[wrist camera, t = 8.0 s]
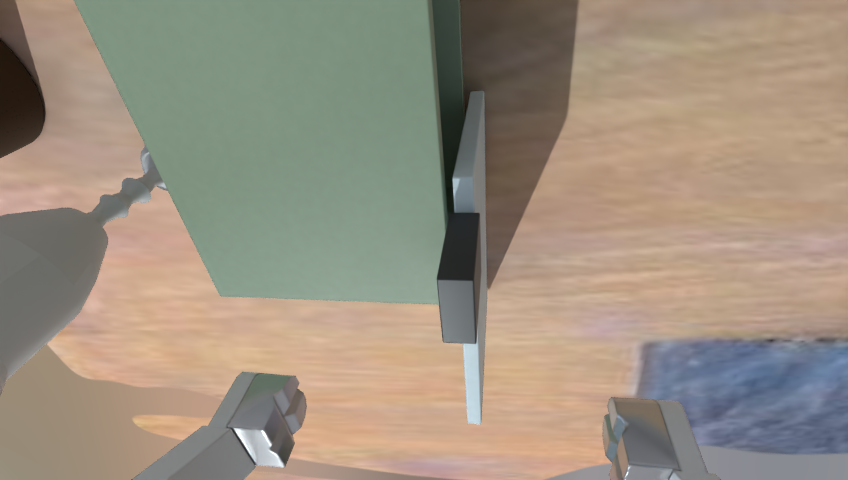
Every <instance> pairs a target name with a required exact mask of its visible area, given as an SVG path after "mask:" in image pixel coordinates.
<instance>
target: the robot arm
mask: <svg viewBox="0 0 848 480" xmlns="http://www.w3.org/2000/svg"><path fill="white" fill-rule="evenodd" d="M298 385H299V382H298V380H297V378H296V376H290V375H277V374H264V373H254V372H242V373H241V374H240V375H238V376H237V377H236V379H235V381H234V382H233V384H232V386H231V388H230V389H229V391H228V393H227V394H226V396H225V398H224V399H223V401H222V403H221V405H220V406H219V408H218V410H217V411H216V413H215V415H214V416H213V418H212V420H211V421H210V423H209V425H208V426H202V427H201V428H199V429H198V430H197V431H195V432H194V433H193V434H191V435H190V436H189V437H187V438H186V439H185V440H183V441H182V442H181V443H179V444H178V445H177V446H176V447H174V448H173V449H171V450H170V451H169V452H167V453H166V454H165V455H164V456H162V457H161V458H160V459H158V460H157V461H156V462H154V463H153V464H152V465H150V466H149V467H148V468H146V469H145V470H144V471H142V472H141V473H140V474H138V475H137V476H136V477H134V478H133V479H132V480H244V479H245V478H246V477H247V476H248V475H249V474H250V473H251V472H252V471H253V470H254V468H255V465H259V466H272V467H285V466H286V464H287V461H288V459H289V456H290V454H291V451H292V449H293V446H294V444H295V442H294V438H293V434H294V433H295V432H296V431H298V430H299V429H300V428H301V426H302V424H303V421H304V418H305V413H306V407H307V405H306V398H305V395H304V393H303V392H301V391H300V390H299V389H297V387H298ZM607 407H608V412H609V414H607V415H605V416H604V421H603V444H604V450H605V455H606V456H607V458H608V459H609V460H610V461H611V462H612V466H611V470H610V473H609V476H610V480H721V479H720V478H719V477H718V476H717V475H715V474H709V473H708V471H707V469H706V466H705V464H704V461H703V458H702V456H701V453H700V450H699V447H698V445H697V442H696V439H695V437H694V434H693V432H692V429H691V426H690V424H689V421H688V418H687V416H686V413H685V410H684V408H683V406H682V405H681V404H680V403H679V402H677V401H660V400H654V399H635V398H616V397H611V398H610V399H609V401H608V405H607Z"/></svg>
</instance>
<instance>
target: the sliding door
mask: <svg viewBox="0 0 848 480" xmlns="http://www.w3.org/2000/svg"><path fill="white" fill-rule="evenodd" d="M452 180H453V196H454V212H455V213H449V217H448V222H447V227H446V233H445V238H444V243H443V248H442V253H441V258H440V264H439V269H438V274H437V289H438V299H439V309H440V319H441V328H442V338H443V342H444V343H463V356H464V372H465V388H466V404H467V420H468V423H470V424H481V422H482V400H483V378H484V357H485V335H486V313H487V248H486V173H485V98H484V91H471V92H470V96H469V101H468V106H467V111H466V115H465V120H464V125H463V130H462V135H461V140H460V144H459V149H458V154H457V159H456V164H455V168H454V173H453V178H452Z"/></svg>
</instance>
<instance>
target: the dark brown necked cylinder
mask: <svg viewBox="0 0 848 480" xmlns="http://www.w3.org/2000/svg"><path fill="white" fill-rule="evenodd" d="M43 124H44V111H43V105H42V101H41V98H40V95H39V93H38V90H37V88H36V86H35V84H34V82H33V80H32V79H31V77H30V75H29V74H28V72H27V71H26V69H25V68H24V66H23V65H22V64H21V62H20V61H19V60H18V59H17V57H16V56H15V55H14V54H13V53H12V52H11V50H10V49H9V48H8V47H7V46H6V45H5V44H4V43H3V42H2V41H1V40H0V158H2V157H4V156H6V155H8V154H10V153H12V152H14V151H16V150H18V149H20V148H22V147H24V146H26V145H28V144H30V143H31V142H33V141H34V140H35V139H36V138H37V137H38V136H39V135H40V133H41V131H42V128H43Z"/></svg>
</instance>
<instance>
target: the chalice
mask: <svg viewBox="0 0 848 480" xmlns="http://www.w3.org/2000/svg"><path fill="white" fill-rule="evenodd" d="M141 164H142V168H143V171H144V173H145V175H144V176H143V177H141V178H138V179H133V178H126V179H124V180H123V181H122V190H121V191H120V192H119V193H117V194H113V195H103V196H101V198H100V203H99V204H98V205H97V207H96V208H95V209H94V210H93V211H92V212H90V213H87V214H86V213H83V212H81V211H79V210H76V209H72V208H58V209H49V210H41V211H32V212H23V213H15V214H6V215H2V216H0V395H1V393H2V390H3V387H4V385H5V382H6V380H7V379H8V378H9V377H10V376H11V375H13V374H14V373H15V372H16V371H17V370H18V369H19V368H20V367H21V366H23V365H24V364H25V363H26V362H27V361H28V360H29V359H30V358H31V357H33V356H34V355H35V354H36V353H37V352H38V351H39V350H40V349H41V348H43V347H44V346H45V345H46V344H47V343H48V342H49V341H50V340H51V339H52V338H54V337H55V336H56V335H57V334H58V333H59V332H60V331H61V330H62V329H64V328H65V327H66V326H67V325H68V324H69V323H70V322H71V321H72V320H73V319H74V318H75V317H76V316H77V315H78V314H79V313H80V311H81V309H82V307H83V305H84V303H85V301H86V300H87V298H88V296H89V294H90V292H91V290H92V288H93V286H94V284H95V282H96V280H97V277H98V274H99V270H100V267H101V264H102V261H103V258H104V255H105V251H106V248H107V245H108V237H107V234H106V232H105V230H104V229H103V228H102V227H103V226H104V225H105V223H106V222H109V221H111V220H113V219H115V218H124V217H126V216H127V215H128V209H129V207H130V206H131V204H133V203H136V202H140V203H146V202H149V200H150V199H151V194H150V192H151V191H152V190H153V188H154V187H156V186H157V187H159V188H161V189H163V190H167V188H166V186H165V184H164V182H163V180H162V178H161V176H160V174H159V172H158V169H157V167H156V165H155V163H154V161H153V159H152V157H151V155H150V153H149V151H148V149H147V147H146V145H145V147H144V148H143V150H142V151H141ZM167 191H168V190H167Z"/></svg>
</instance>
